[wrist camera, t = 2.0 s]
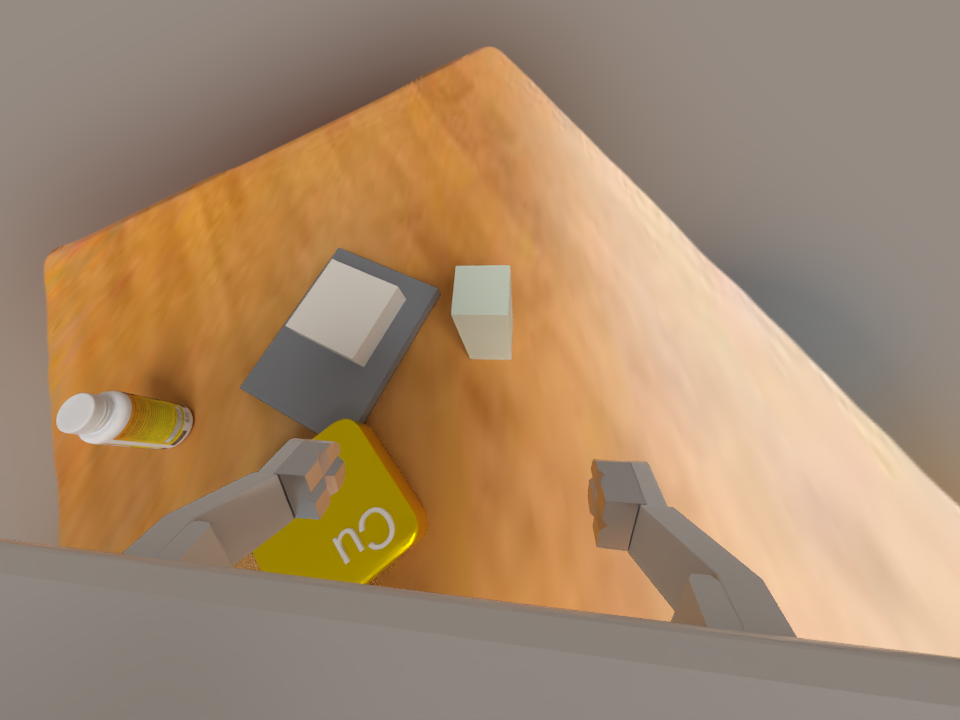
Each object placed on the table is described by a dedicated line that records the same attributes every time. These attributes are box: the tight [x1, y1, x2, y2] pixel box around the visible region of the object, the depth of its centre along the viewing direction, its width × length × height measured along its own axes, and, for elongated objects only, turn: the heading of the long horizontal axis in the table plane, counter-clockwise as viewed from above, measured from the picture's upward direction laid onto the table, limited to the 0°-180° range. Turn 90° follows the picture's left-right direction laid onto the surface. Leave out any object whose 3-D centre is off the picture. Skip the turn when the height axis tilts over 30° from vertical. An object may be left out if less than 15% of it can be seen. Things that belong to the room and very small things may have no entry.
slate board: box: [240, 248, 440, 434], centre depth 42 cm, size 22×16×4 cm
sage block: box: [451, 265, 513, 360], centre depth 36 cm, size 5×5×12 cm
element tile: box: [252, 419, 428, 584], centre depth 35 cm, size 15×15×5 cm
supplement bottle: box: [56, 391, 193, 449], centre depth 38 cm, size 6×6×10 cm
